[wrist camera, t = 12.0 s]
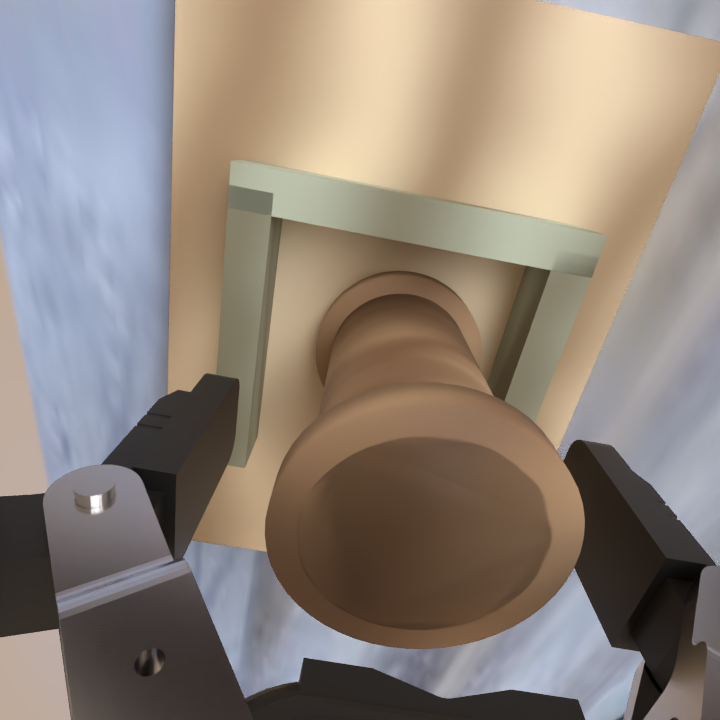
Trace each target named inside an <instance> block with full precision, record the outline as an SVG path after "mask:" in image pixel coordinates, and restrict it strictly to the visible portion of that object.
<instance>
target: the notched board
mask: <svg viewBox="0 0 720 720" xmlns="http://www.w3.org/2000/svg"><path fill="white" fill-rule="evenodd" d="M719 73H720V41H715V40H711V39H706V38H702V37H697V36H693V35H689V34H684V33H680V32H675V31H671V30H667V29H662V28H658V27H653V26H649V25H644V24H640V23H636V22H631V21H627V20H622V19H618V18H614V17H609V16H605V15H600V14H596V13H591V12H587V11H583V10H578V9H574V8H569V7H565V6H560V5H556V4H552V3H547V2H543V1H538V0H175V49H174V97H173V146H172V195H171V244H170V293H169V341H168V390H167V395H169V394H171V393H173V392H175V391H177V390H182V391H188V392H191V391H192V389H193V388H194V387H195V386H196V384H197V383H198V382H199V380H200V379H201V378H202V377H203V375H204V374H206V373H209V374H214V375H220V376H226V377H231V378H237V379H239V384H240V388H239V400H238V412H237V424H236V436H235V442H234V447H233V451H232V455H231V458H230V460H229V463H228V465H227V467H226V469H225V471H224V473H223V475H222V477H221V479H220V481H219V483H218V486H217V488H216V490H215V492H214V494H213V496H212V498H211V500H210V502H209V504H208V506H207V508H206V510H205V512H204V515H203V517H202V519H201V521H200V523H199V525H198V527H197V529H196V531H195V533H194V535H193V537H192V539H191V540H193V541H200V542H206V543H213V544H219V545H226V546H232V547H239V548H245V549H251V550H258V551H264V552H267V550H266V541H265V519H266V514H267V510H268V505H269V501H270V498H271V494H272V491H273V488H274V484H275V481H276V477H277V474H278V471H279V469H280V466H281V464H282V461H283V459H284V457H285V455H286V454H287V452H288V450H289V449H290V447H291V445H292V444H293V443H294V441H295V440H296V439H297V438H298V437H299V435H300V434H301V433H302V432H303V431H304V430H305V429H306V428H307V427H308V426H309V425H310V424H311V423H312V422H313V421H314V420H316V419H317V418H318V416H319V411H320V406H321V402H322V397H323V392H324V387H323V385H322V383H321V380H320V377H319V375H318V371H317V366H316V343H317V339H318V335H319V331H320V328H321V325H322V322H323V319H324V317H325V315H326V313H327V311H328V310H329V308H330V306H331V305H332V304H333V302H334V301H335V300H336V299H337V298H338V297H339V296H340V294H341V293H342V292H343V291H345V290H346V289H347V288H349V287H350V286H351V285H353V284H355V283H356V282H358V281H360V280H362V279H364V278H366V277H369V276H371V275H375V274H378V273H382V272H389V271H410V272H417V273H420V274H424V275H427V276H430V277H432V278H435V279H437V280H439V281H440V282H442V283H444V284H445V285H447V286H448V287H449V288H451V289H452V290H453V291H454V292H455V293H456V294H457V295H458V296H459V297H460V298H461V299H462V301H463V302H464V303H465V305H466V306H467V308H468V309H469V311H470V312H471V314H472V316H473V318H474V320H475V322H476V324H477V327H478V329H479V332H480V337H481V342H482V359H481V366H480V370H481V372H482V374H483V376H484V378H485V380H486V382H487V384H488V386H489V388H490V390H491V392H492V394H493V396H495V397H497V398H499V399H501V400H503V401H505V402H507V403H508V404H510V405H512V406H514V407H515V408H517V409H518V410H519V411H521V412H522V413H524V414H525V415H526V416H528V417H529V418H530V419H531V420H532V421H533V422H534V423H535V424H536V425H537V426H538V427H539V428H540V429H541V430H542V431H543V432H544V433H545V435H546V436H547V437H548V439H549V440H550V442H551V443H552V444H553V446H554V447H555V449H556V451H558V448H559V446H560V444H561V441H562V439H563V437H564V434H565V432H566V430H567V427H568V425H569V423H570V420H571V418H572V416H573V413H574V411H575V409H576V406H577V404H578V402H579V399H580V397H581V395H582V392H583V390H584V388H585V385H586V383H587V381H588V378H589V376H590V374H591V371H592V369H593V367H594V364H595V362H596V360H597V357H598V355H599V353H600V350H601V348H602V346H603V343H604V341H605V339H606V336H607V334H608V332H609V329H610V327H611V325H612V322H613V320H614V318H615V315H616V313H617V311H618V308H619V306H620V304H621V301H622V299H623V297H624V295H625V292H626V290H627V288H628V285H629V283H630V281H631V278H632V276H633V274H634V271H635V269H636V267H637V264H638V262H639V260H640V257H641V255H642V253H643V250H644V248H645V246H646V243H647V241H648V239H649V236H650V234H651V232H652V229H653V227H654V225H655V222H656V220H657V218H658V215H659V213H660V211H661V208H662V206H663V204H664V201H665V199H666V197H667V194H668V192H669V190H670V187H671V185H672V183H673V180H674V178H675V176H676V173H677V171H678V169H679V166H680V164H681V162H682V159H683V157H684V155H685V152H686V150H687V148H688V145H689V143H690V141H691V139H692V136H693V134H694V132H695V129H696V127H697V125H698V122H699V120H700V118H701V115H702V113H703V111H704V108H705V106H706V104H707V101H708V99H709V97H710V94H711V92H712V90H713V87H714V85H715V83H716V80H717V78H718V76H719Z"/></svg>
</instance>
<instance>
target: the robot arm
mask: <svg viewBox="0 0 720 720" xmlns="http://www.w3.org/2000/svg"><path fill="white" fill-rule="evenodd" d="M239 388H240V384H239V379H237V378H231V377H226V376H220V375H214V374H209V373H206V374H204V375H203V377H202V378H201V379H200V380H199V382H198V383H197V384H196V386H195V387H194V388H193V389H192V391H191V392H188V391H182V390H177V391H175V392H173V393H171V394H169V395H167V396H165V397H163V398H161V399H159V400H158V401H157V402H156V403H155V404H154V405H153V407H152V408H151V409H150V410H149V411H148V412H147V415H145V416H144V417H143V418H142V419H141V420H140V421H139V422H138V424H137V426H135V427H134V428H133V429H132V430H131V431H130V432H129V434H128V435H127V436H126V437H125V438H124V439H123V440H122V442H121V443H120V444H119V445H118V446H117V447H116V448H115V449H114V451H113V452H112V453H111V454H110V455H109V456H108V457H107V458H106V460H105V461H104V462H103V463H102V464H101V465H94V466H88V467H84V468H80V469H77V470H75V471H72V472H70V473H68V474H66V475H64V476H62V477H61V478H59V479H58V480H56V481H55V482H54V483H53V484H52V485H51V486H50V487H49V488H48V489H47V491H46V493H43V494H35V495H19V496H2V497H0V637H6V636H12V635H19V634H26V633H32V632H39V631H46V630H52V629H59V635H60V641H61V649H62V656H63V664H64V672H65V679H66V686H67V693H68V700H69V708H70V716H71V720H585V718H584V715H583V712H582V710H581V707H580V704H579V701H578V700H576V699H569V698H563V697H556V696H550V695H543V694H537V693H530V692H524V691H517V690H506V691H499V692H493V693H486V694H479V695H472V696H466V697H459V698H452V699H446V698H441V697H438V696H436V695H433V694H431V693H429V692H426V691H424V690H422V689H419V688H417V687H415V686H412V685H410V684H408V683H405V682H403V681H401V680H398V679H396V678H394V677H391V676H389V675H387V674H384V673H382V672H380V671H377V670H375V669H373V668H367V667H360V666H354V665H347V664H341V663H334V662H328V661H321V660H315V659H308V658H304V659H303V664H302V669H301V674H300V679H299V682H294V683H288V684H282V685H279V686H275V687H272V688H268V689H265V690H263V691H260V692H258V693H256V694H253V695H251V696H249V697H247V698H244V695H243V693H242V691H241V688H240V686H239V684H238V681H237V679H236V676H235V674H234V672H233V669H232V667H231V664H230V662H229V660H228V657H227V655H226V653H225V650H224V648H223V645H222V643H221V641H220V638H219V636H218V633H217V631H216V629H215V626H214V624H213V621H212V619H211V617H210V614H209V612H208V610H207V607H206V605H205V602H204V600H203V598H202V595H201V593H200V590H199V588H198V586H197V583H196V581H195V578H194V576H193V574H192V571H191V569H190V567H189V565H188V563H187V562H186V561H185V559H183V556H184V554H185V552H186V550H187V548H188V546H189V544H190V542H191V539H192V537H193V535H194V533H195V531H196V529H197V527H198V525H199V523H200V521H201V519H202V517H203V515H204V512H205V510H206V508H207V506H208V504H209V502H210V500H211V498H212V496H213V494H214V492H215V490H216V488H217V486H218V483H219V481H220V479H221V477H222V475H223V473H224V471H225V469H226V467H227V465H228V463H229V460H230V458H231V455H232V451H233V447H234V442H235V436H236V424H237V412H238V400H239ZM563 462H564V463H565V465H566V467H567V468H568V470H569V472H570V473H571V475H572V477H573V479H574V481H575V483H576V485H577V487H578V489H579V493H580V496H581V499H582V503H583V508H584V517H585V528H584V539H583V543H582V548H581V552H580V555H579V557H578V559H577V562H576V564H575V567H574V568H575V570H576V572H577V574H578V576H579V578H580V581H581V583H582V585H583V587H584V589H585V591H586V593H587V595H588V598H589V600H590V602H591V604H592V606H593V608H594V610H595V612H596V614H597V617H598V619H599V621H600V623H601V625H602V627H603V629H604V631H605V634H606V636H607V638H608V640H609V642H610V644H611V646H612V647H615V648H622V649H628V650H634V651H640V652H641V654H642V656H643V660H642V661H641V663H640V664H639V666H638V667H637V669H636V671H635V675H634V679H633V683H632V687H631V691H630V695H629V699H628V703H627V707H626V711H625V715H624V719H623V720H720V566H717V565H716V564H715V563H714V561H713V560H712V559H711V558H710V557H709V555H708V554H707V553H706V552H705V550H704V549H703V548H702V547H701V546H700V544H699V543H698V542H697V541H696V539H695V538H694V537H693V536H692V535H691V533H690V532H689V531H688V530H687V528H686V527H685V526H684V525H683V524H682V522H681V521H680V520H677V516H676V515H675V514H674V513H673V511H672V510H671V509H670V508H669V506H665V502H664V500H663V499H662V498H661V497H660V495H659V494H658V493H657V492H656V491H655V489H654V488H653V487H652V486H651V485H650V484H649V483H647V482H646V481H645V480H644V479H642V478H641V477H640V476H638V475H637V474H636V473H635V472H633V471H632V470H631V469H630V467H629V466H628V465H627V464H626V462H625V461H624V460H623V458H622V457H621V456H620V455H619V453H618V452H617V451H616V450H615V449H614V448H613V447H612V446H611V445H606V444H601V443H595V442H589V441H584V440H576V441H574V442H573V443H572V445H571V446H570V448H569V450H568V452H567V455H566V457H565V459H564V461H563Z"/></svg>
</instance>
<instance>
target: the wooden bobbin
mask: <svg viewBox="0 0 720 720" xmlns="http://www.w3.org/2000/svg"><path fill="white" fill-rule="evenodd" d="M481 359H482V342H481V337H480V332H479V329H478V327H477V324H476V322H475V320H474V318H473V316H472V314H471V312H470V311H469V309H468V308H467V306H466V305H465V303H464V302H463V301H462V299H461V298H460V297H459V296H458V295H457V294H456V293H455V292H454V291H453V290H452V289H451V288H449V287H448V286H447V285H445V284H444V283H442V282H440V281H439V280H437V279H435V278H432V277H430V276H427V275H424V274H420V273H417V272H410V271H389V272H382V273H378V274H375V275H371V276H369V277H366V278H364V279H362V280H360V281H358V282H356V283H355V284H353V285H351V286H350V287H349V288H347V289H346V290H345V291H343V292H342V293H341V294H340V296H339V297H338V298H337V299H336V300H335V301H334V302H333V304H332V305H331V306H330V308H329V310H328V311H327V313H326V315H325V317H324V319H323V322H322V325H321V328H320V331H319V335H318V339H317V343H316V366H317V371H318V375H319V377H320V380H321V383H322V385H323V387H324V392H323V397H322V402H321V406H320V411H319V416H318V418H317V419H316V420H314V421H313V422H312V423H311V424H310V425H309V426H308V427H307V428H306V429H305V430H304V431H303V432H302V433H301V434H300V435H299V437H298V438H297V439H296V440H295V441H294V443H293V444H292V445H291V447H290V449H289V450H288V452H287V454H286V455H285V457H284V459H283V461H282V464H281V466H280V469H279V471H278V474H277V477H276V481H275V484H274V488H273V491H272V494H271V498H270V501H269V505H268V510H267V514H266V519H265V541H266V550H267V553H268V557H269V560H270V563H271V566H272V568H273V570H274V572H275V574H276V577H277V579H278V580H279V582H280V583H281V585H282V586H283V588H284V589H285V591H286V592H287V593H288V594H289V595H290V597H291V598H292V599H293V600H294V601H295V602H296V603H297V604H298V605H299V606H300V607H301V608H302V609H304V610H305V611H306V612H307V613H308V614H309V615H311V616H312V617H314V618H315V619H317V620H318V621H320V622H321V623H323V624H324V625H326V626H328V627H330V628H332V629H334V630H336V631H338V632H340V633H342V634H345V635H347V636H350V637H352V638H355V639H358V640H362V641H365V642H369V643H372V644H377V645H383V646H388V647H396V648H406V649H432V648H445V647H451V646H457V645H463V644H467V643H471V642H475V641H479V640H482V639H485V638H487V637H490V636H493V635H496V634H498V633H500V632H503V631H505V630H507V629H509V628H511V627H513V626H515V625H517V624H518V623H520V622H522V621H523V620H525V619H527V618H528V617H530V616H531V615H532V614H534V613H535V612H536V611H538V610H539V609H540V608H542V607H543V606H544V605H545V604H546V603H547V602H548V601H549V600H550V599H551V598H552V597H553V596H554V595H555V594H556V593H557V592H558V591H559V589H560V588H561V587H562V586H563V584H564V583H565V582H566V580H567V579H568V577H569V575H570V574H571V572H572V570H573V569H574V567H575V564H576V562H577V559H578V557H579V555H580V552H581V548H582V543H583V539H584V528H585V517H584V508H583V503H582V499H581V496H580V493H579V489H578V487H577V485H576V483H575V481H574V479H573V477H572V475H571V473H570V472H569V470H568V468H567V467H566V465H565V463H564V462H563V460H562V459H561V457H560V455H559V454H558V452H557V451H556V449H555V447H554V446H553V444H552V443H551V442H550V440H549V439H548V437H547V436H546V435H545V433H544V432H543V431H542V430H541V429H540V428H539V427H538V426H537V425H536V424H535V423H534V422H533V421H532V420H531V419H530V418H529V417H528V416H526V415H525V414H524V413H522V412H521V411H519V410H518V409H517V408H515V407H514V406H512V405H510V404H508V403H507V402H505V401H503V400H501V399H499V398H497V397H495V396H493V394H492V392H491V390H490V388H489V386H488V384H487V382H486V380H485V378H484V376H483V374H482V372H481V370H480V366H481Z"/></svg>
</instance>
